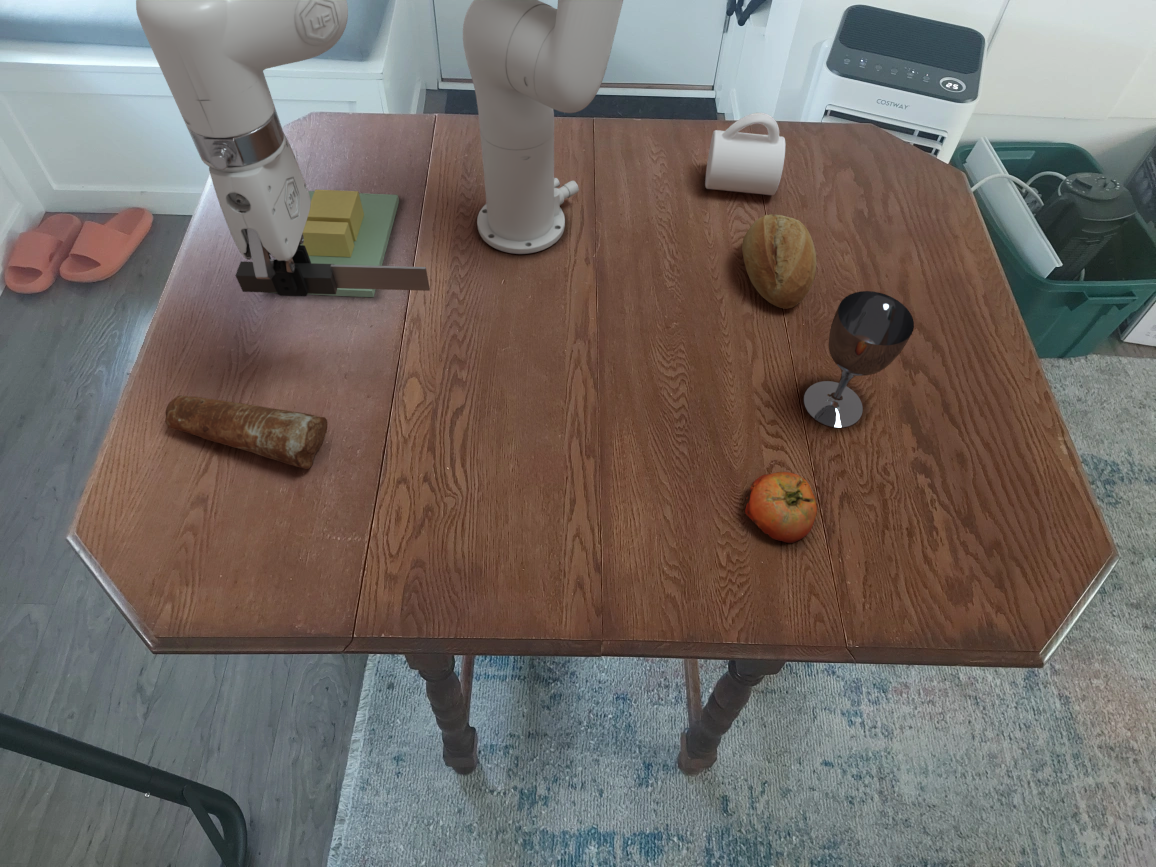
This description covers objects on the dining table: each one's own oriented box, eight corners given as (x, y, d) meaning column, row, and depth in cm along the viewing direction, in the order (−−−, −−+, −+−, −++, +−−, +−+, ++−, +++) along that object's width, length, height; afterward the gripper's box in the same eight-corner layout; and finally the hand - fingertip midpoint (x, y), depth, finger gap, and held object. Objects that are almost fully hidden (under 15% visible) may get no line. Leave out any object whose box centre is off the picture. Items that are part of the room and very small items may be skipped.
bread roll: (745, 316, 100) (759, 270, 93) (729, 240, 109) (741, 194, 102) (817, 316, 100) (835, 270, 94) (795, 240, 109) (811, 194, 102)
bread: (313, 480, 84) (299, 453, 79) (163, 436, 87) (141, 407, 82) (340, 436, 87) (327, 407, 83) (195, 395, 90) (176, 365, 86)
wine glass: (869, 388, 93) (917, 301, 81) (862, 438, 89) (911, 354, 77) (805, 371, 95) (842, 283, 82) (795, 419, 90) (832, 333, 78)
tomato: (769, 555, 78) (766, 488, 77) (732, 535, 84) (729, 473, 83) (832, 539, 81) (830, 473, 79) (792, 521, 87) (789, 460, 86)
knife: (242, 292, 82) (232, 269, 79) (248, 277, 83) (238, 255, 80) (428, 297, 82) (424, 275, 79) (431, 282, 83) (427, 260, 80)
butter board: (304, 197, 112) (295, 167, 108) (399, 201, 112) (393, 171, 108) (268, 293, 100) (255, 263, 96) (373, 297, 100) (365, 268, 96)
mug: (705, 166, 119) (719, 94, 109) (771, 173, 118) (791, 101, 108) (704, 199, 114) (718, 127, 104) (773, 206, 113) (793, 134, 103)
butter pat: (311, 243, 104) (303, 220, 101) (354, 245, 104) (348, 222, 101) (307, 255, 103) (298, 232, 100) (351, 257, 103) (344, 234, 100)
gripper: (257, 190, 62) (316, 340, 78) (300, 83, 72) (345, 236, 87) (165, 188, 62) (242, 338, 77) (220, 81, 71) (279, 234, 87)
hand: (296, 283), depth 82 cm, fingers closed on knife, 2 cm apart
